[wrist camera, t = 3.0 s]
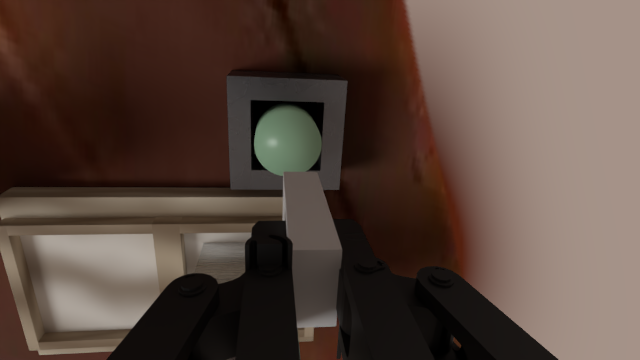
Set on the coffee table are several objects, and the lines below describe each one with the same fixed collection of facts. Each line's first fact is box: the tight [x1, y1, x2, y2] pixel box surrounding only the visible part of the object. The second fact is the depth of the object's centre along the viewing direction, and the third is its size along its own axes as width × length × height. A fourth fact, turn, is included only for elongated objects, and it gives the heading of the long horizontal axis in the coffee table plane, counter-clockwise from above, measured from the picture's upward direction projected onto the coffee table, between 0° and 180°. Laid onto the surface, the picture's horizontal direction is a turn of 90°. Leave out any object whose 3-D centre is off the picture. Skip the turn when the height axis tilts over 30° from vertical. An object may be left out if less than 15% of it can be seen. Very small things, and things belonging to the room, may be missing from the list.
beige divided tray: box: [0, 187, 314, 355], centre depth 32 cm, size 15×24×3 cm, turn 87°
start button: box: [254, 103, 322, 176], centre depth 26 cm, size 4×4×3 cm
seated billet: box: [194, 242, 300, 360], centre depth 26 cm, size 7×7×14 cm
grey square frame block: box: [227, 70, 347, 190], centre depth 28 cm, size 8×8×4 cm
